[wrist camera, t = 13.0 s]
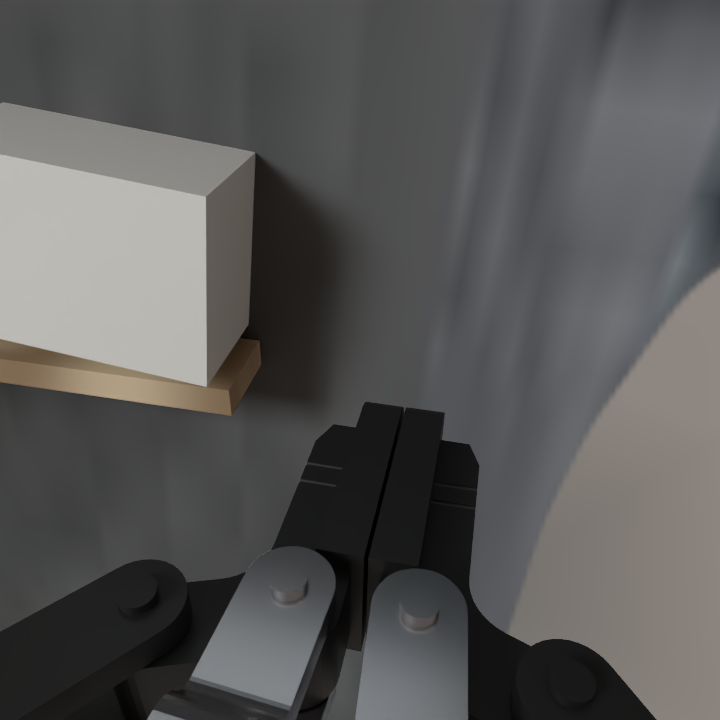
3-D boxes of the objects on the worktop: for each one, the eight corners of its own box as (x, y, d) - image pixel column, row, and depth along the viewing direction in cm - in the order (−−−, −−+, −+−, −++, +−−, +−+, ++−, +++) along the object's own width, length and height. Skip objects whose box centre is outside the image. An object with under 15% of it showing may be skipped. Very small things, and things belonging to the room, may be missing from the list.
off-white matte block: (37, 273, 24) (-39, 330, 21) (8, 100, 20) (-89, 135, 17) (251, 320, 23) (206, 387, 20) (257, 149, 20) (206, 196, 16)
